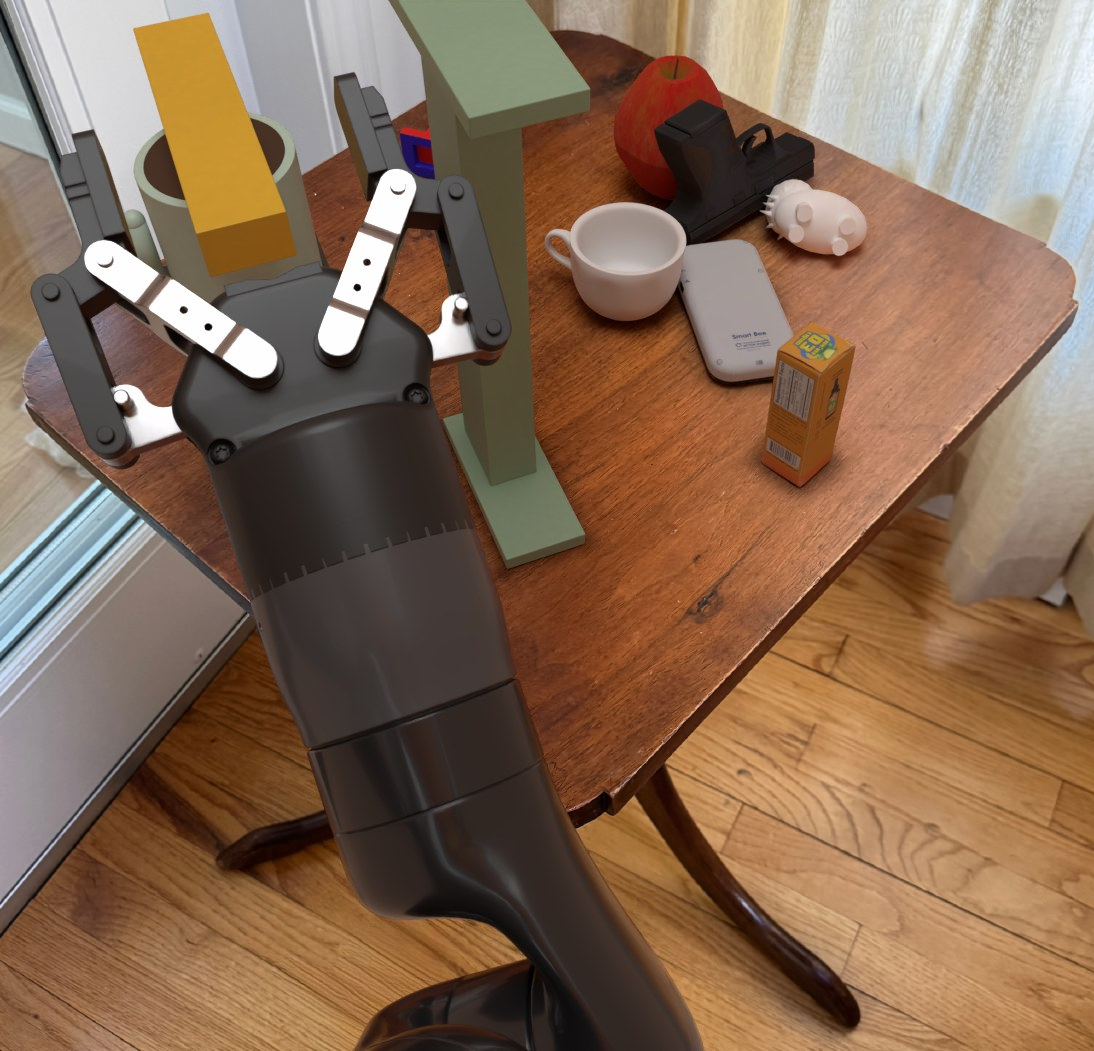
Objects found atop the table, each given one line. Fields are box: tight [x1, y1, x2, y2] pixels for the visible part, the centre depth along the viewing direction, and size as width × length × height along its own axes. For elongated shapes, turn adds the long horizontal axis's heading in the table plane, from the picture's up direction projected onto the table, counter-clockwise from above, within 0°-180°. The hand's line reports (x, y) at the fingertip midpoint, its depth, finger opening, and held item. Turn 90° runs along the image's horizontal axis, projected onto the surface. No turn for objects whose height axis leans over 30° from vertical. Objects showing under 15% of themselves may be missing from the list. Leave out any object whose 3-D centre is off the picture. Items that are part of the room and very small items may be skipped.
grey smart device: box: [676, 239, 795, 385], centre depth 78 cm, size 6×13×2 cm, turn 10°
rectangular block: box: [132, 12, 297, 277], centre depth 56 cm, size 4×18×2 cm, turn 21°
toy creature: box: [760, 179, 868, 257], centre depth 83 cm, size 5×8×6 cm
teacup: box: [543, 201, 686, 322], centre depth 79 cm, size 10×8×5 cm
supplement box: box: [761, 322, 856, 488], centre depth 67 cm, size 3×3×10 cm
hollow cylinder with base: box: [123, 111, 331, 304], centre depth 65 cm, size 10×9×21 cm
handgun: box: [654, 99, 816, 246], centre depth 82 cm, size 3×14×10 cm, turn 128°
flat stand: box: [387, 0, 591, 570], centre depth 59 cm, size 5×12×30 cm, turn 21°
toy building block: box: [399, 125, 435, 179], centre depth 89 cm, size 4×4×8 cm
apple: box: [612, 54, 725, 201], centre depth 84 cm, size 8×8×11 cm
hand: (217, 113), depth 38 cm, fingers open, 8 cm apart
